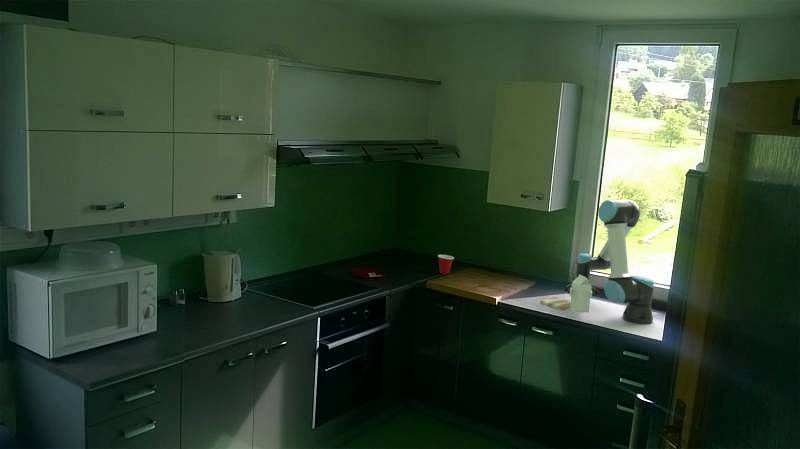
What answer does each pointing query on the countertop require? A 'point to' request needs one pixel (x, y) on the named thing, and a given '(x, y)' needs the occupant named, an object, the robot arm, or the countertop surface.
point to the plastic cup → (445, 263)
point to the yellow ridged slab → (557, 303)
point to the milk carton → (580, 294)
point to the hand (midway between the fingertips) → (580, 294)
